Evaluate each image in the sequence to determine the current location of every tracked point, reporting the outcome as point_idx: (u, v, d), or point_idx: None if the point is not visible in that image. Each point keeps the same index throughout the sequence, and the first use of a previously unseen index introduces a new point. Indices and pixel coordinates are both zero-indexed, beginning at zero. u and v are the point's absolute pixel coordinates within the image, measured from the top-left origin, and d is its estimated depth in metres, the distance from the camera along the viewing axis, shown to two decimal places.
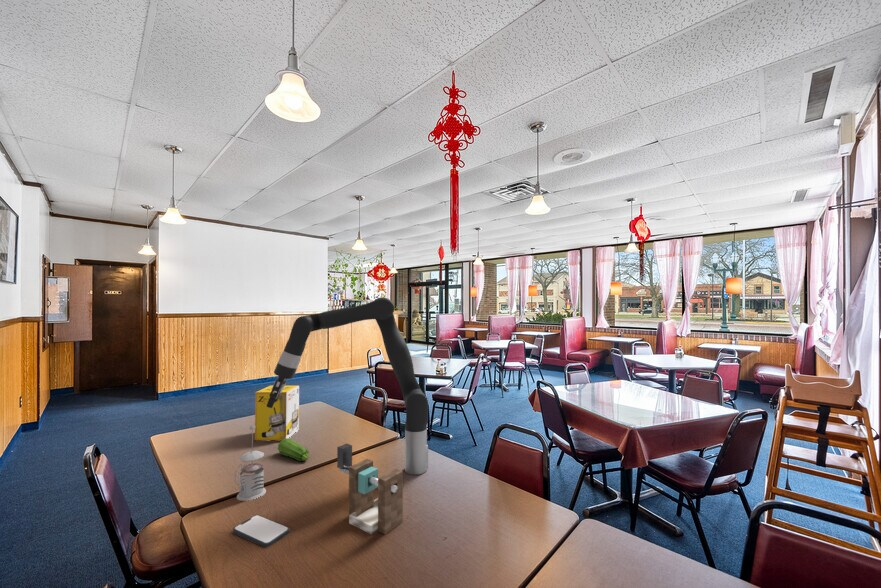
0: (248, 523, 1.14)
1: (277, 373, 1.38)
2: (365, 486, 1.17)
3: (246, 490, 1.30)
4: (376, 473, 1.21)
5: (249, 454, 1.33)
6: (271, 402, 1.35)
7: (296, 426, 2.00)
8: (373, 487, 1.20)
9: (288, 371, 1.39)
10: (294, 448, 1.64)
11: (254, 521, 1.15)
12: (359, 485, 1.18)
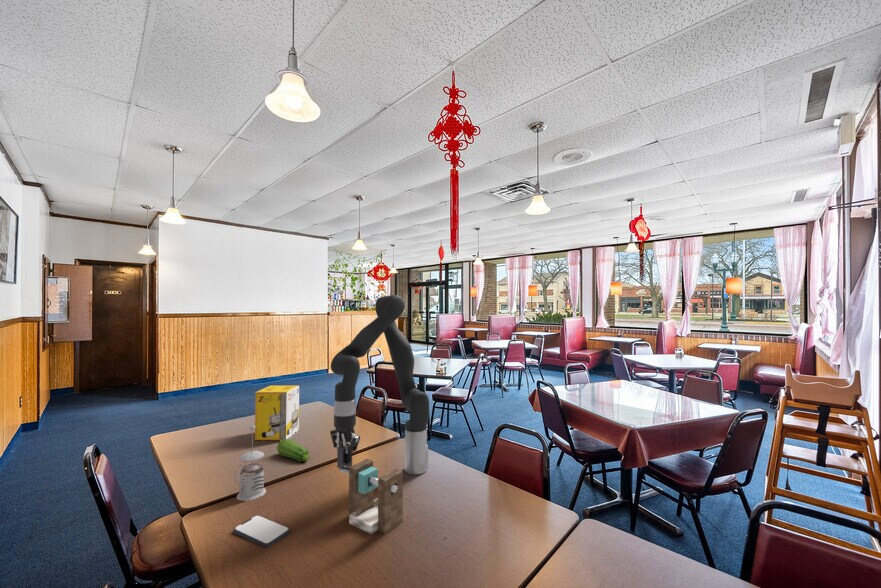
0: (249, 523, 1.14)
1: (346, 426, 1.24)
2: (365, 486, 1.17)
3: (246, 490, 1.30)
4: (376, 473, 1.21)
5: (249, 454, 1.33)
6: (350, 457, 1.26)
7: (296, 426, 2.00)
8: (373, 487, 1.20)
9: (354, 418, 1.27)
10: (294, 448, 1.64)
11: (254, 521, 1.15)
12: (359, 485, 1.18)
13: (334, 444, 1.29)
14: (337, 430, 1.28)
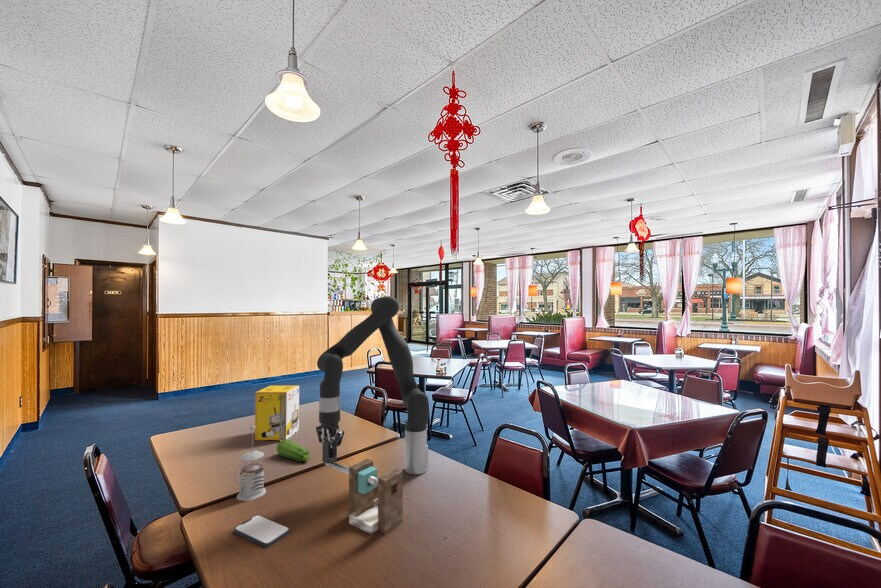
0: (249, 523, 1.14)
1: (330, 422, 1.29)
2: (364, 486, 1.17)
3: (246, 490, 1.30)
4: (375, 473, 1.22)
5: (249, 454, 1.33)
6: (335, 451, 1.31)
7: (296, 426, 2.00)
8: (372, 487, 1.20)
9: (339, 414, 1.32)
10: (294, 449, 1.63)
11: (254, 521, 1.15)
12: (359, 485, 1.18)
13: (319, 439, 1.34)
14: (322, 426, 1.33)
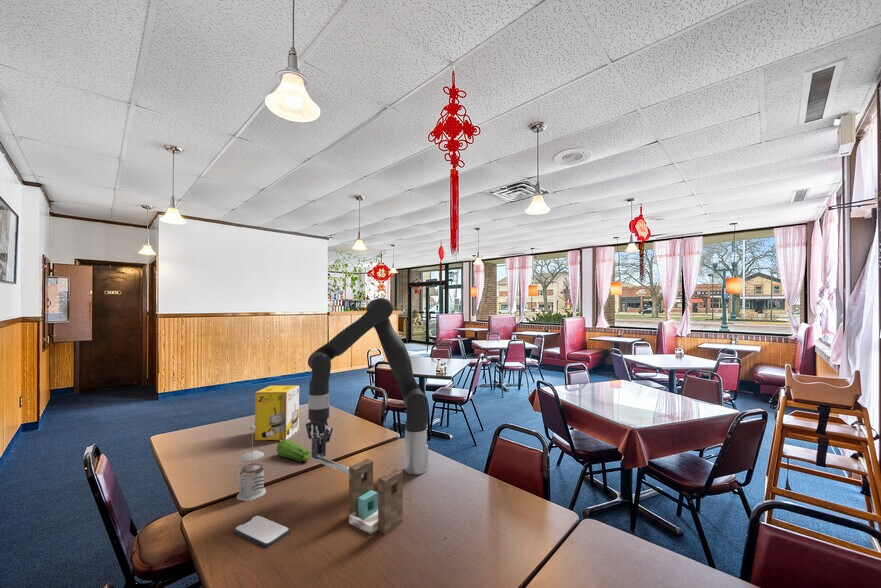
0: (249, 523, 1.14)
1: (319, 419, 1.33)
2: (365, 511, 1.17)
3: (246, 490, 1.30)
4: (376, 497, 1.21)
5: (249, 454, 1.33)
6: (324, 448, 1.34)
7: (296, 426, 2.00)
8: (373, 511, 1.20)
9: (327, 411, 1.36)
10: (294, 449, 1.63)
11: (255, 521, 1.15)
12: (359, 509, 1.18)
13: (309, 436, 1.38)
14: (312, 422, 1.37)
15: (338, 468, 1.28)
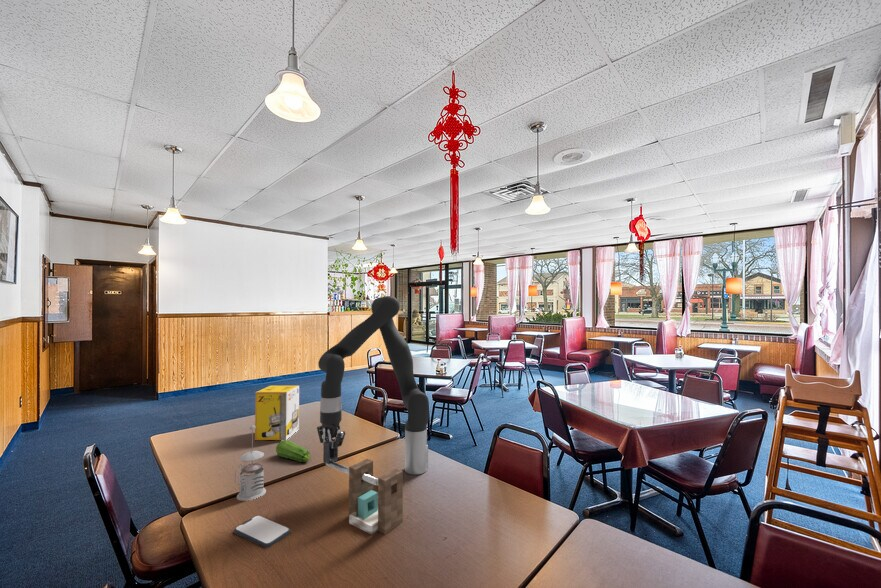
0: (249, 523, 1.13)
1: (331, 422, 1.29)
2: (365, 511, 1.17)
3: (246, 490, 1.30)
4: (376, 497, 1.21)
5: (249, 454, 1.33)
6: (336, 452, 1.30)
7: (296, 426, 2.00)
8: (373, 511, 1.20)
9: (340, 414, 1.32)
10: (294, 449, 1.63)
11: (255, 521, 1.15)
12: (359, 509, 1.18)
13: (320, 440, 1.33)
14: (323, 426, 1.33)
15: None
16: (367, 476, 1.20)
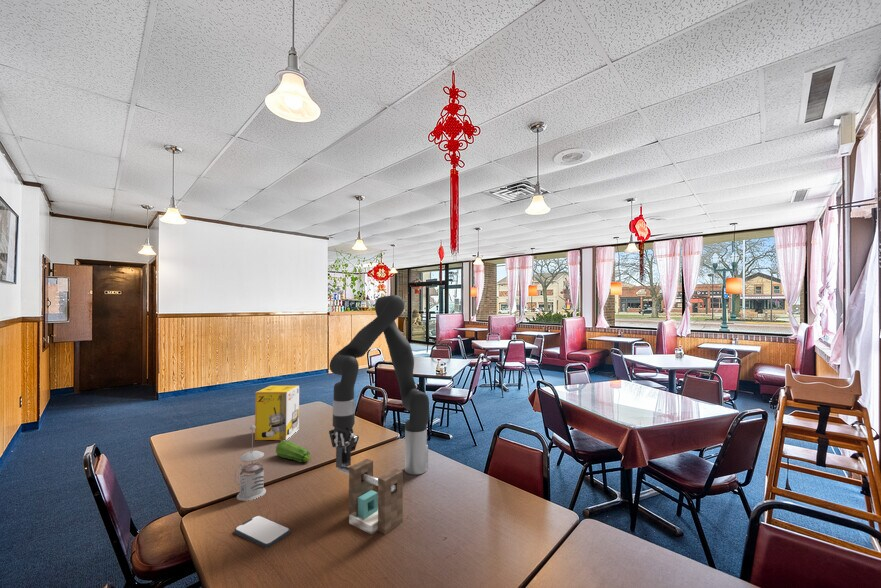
0: (249, 523, 1.13)
1: (345, 426, 1.25)
2: (365, 511, 1.17)
3: (246, 490, 1.30)
4: (376, 497, 1.21)
5: (249, 454, 1.33)
6: (349, 457, 1.26)
7: (296, 426, 2.00)
8: (373, 511, 1.20)
9: (353, 418, 1.27)
10: (294, 449, 1.62)
11: (255, 521, 1.15)
12: (359, 509, 1.18)
13: (333, 444, 1.29)
14: (336, 430, 1.29)
15: (366, 479, 1.19)
16: None
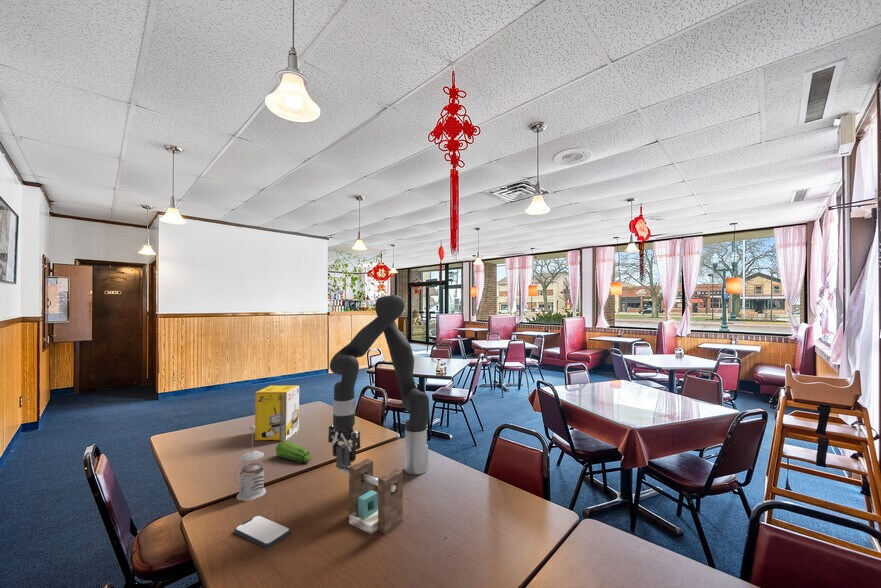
0: (250, 523, 1.13)
1: (345, 426, 1.25)
2: (365, 511, 1.17)
3: (246, 490, 1.30)
4: (376, 497, 1.21)
5: (249, 454, 1.33)
6: (354, 455, 1.25)
7: (296, 426, 2.00)
8: (373, 511, 1.20)
9: (353, 417, 1.27)
10: (294, 449, 1.62)
11: (255, 521, 1.15)
12: (359, 509, 1.18)
13: (329, 439, 1.31)
14: (336, 430, 1.29)
15: (366, 479, 1.19)
16: None
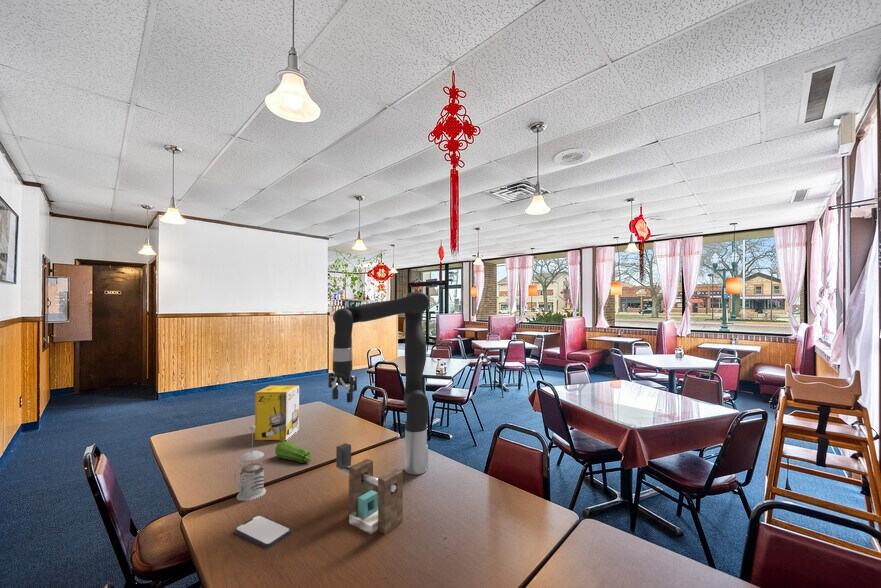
0: (250, 524, 1.13)
1: (343, 370, 1.39)
2: (365, 511, 1.17)
3: (246, 490, 1.30)
4: (376, 497, 1.21)
5: (249, 454, 1.33)
6: (351, 396, 1.40)
7: (296, 426, 2.00)
8: (373, 511, 1.20)
9: (351, 364, 1.42)
10: (295, 450, 1.62)
11: (255, 521, 1.15)
12: (359, 509, 1.18)
13: (329, 385, 1.45)
14: (335, 375, 1.43)
15: (366, 479, 1.19)
16: None
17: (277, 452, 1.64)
